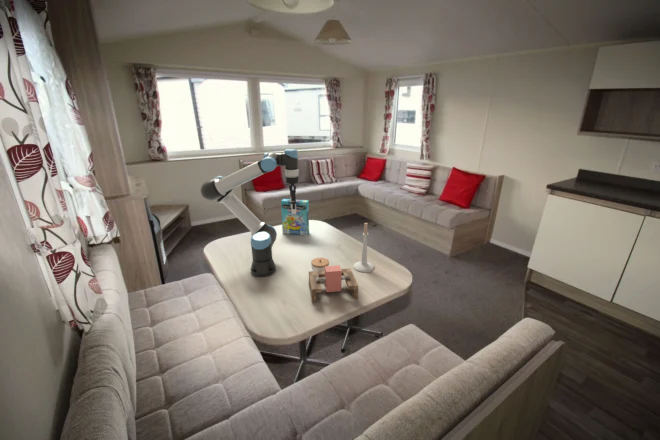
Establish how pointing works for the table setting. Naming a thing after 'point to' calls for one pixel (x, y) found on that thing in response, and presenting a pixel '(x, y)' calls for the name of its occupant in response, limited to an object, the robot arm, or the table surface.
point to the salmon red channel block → (333, 278)
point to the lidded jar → (319, 264)
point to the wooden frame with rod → (316, 279)
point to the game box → (295, 217)
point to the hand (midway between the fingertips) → (293, 210)
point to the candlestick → (364, 255)
